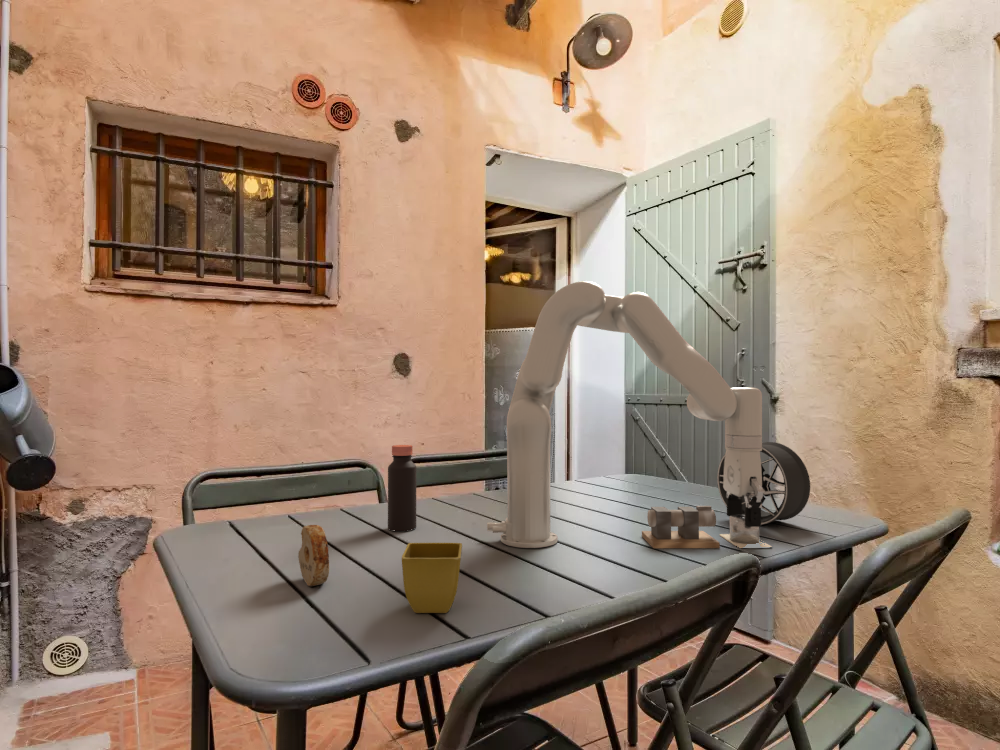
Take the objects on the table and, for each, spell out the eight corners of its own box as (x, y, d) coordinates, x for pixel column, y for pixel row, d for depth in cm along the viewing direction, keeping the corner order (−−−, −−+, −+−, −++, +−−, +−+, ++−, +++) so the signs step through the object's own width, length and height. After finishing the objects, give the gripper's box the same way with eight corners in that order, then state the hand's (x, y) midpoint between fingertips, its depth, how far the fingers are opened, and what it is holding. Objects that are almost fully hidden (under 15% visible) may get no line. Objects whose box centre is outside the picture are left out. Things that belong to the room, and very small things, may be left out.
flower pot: (462, 597, 95) (462, 541, 95) (460, 618, 86) (460, 557, 87) (408, 598, 95) (408, 542, 95) (400, 619, 86) (400, 558, 86)
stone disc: (333, 589, 99) (333, 530, 99) (310, 593, 97) (310, 533, 97) (318, 573, 108) (318, 518, 108) (297, 576, 106) (297, 520, 106)
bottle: (411, 532, 138) (411, 447, 138) (383, 531, 139) (383, 446, 139) (419, 525, 144) (419, 444, 145) (393, 525, 145) (393, 444, 146)
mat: (739, 548, 124) (739, 547, 124) (719, 535, 134) (719, 534, 135) (772, 548, 124) (772, 547, 124) (750, 535, 135) (750, 534, 135)
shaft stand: (653, 548, 124) (653, 511, 124) (641, 536, 134) (641, 502, 134) (721, 548, 124) (721, 511, 124) (705, 536, 134) (704, 501, 134)
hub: (736, 543, 126) (736, 520, 126) (725, 537, 132) (725, 514, 132) (764, 543, 126) (763, 520, 126) (752, 536, 132) (751, 514, 132)
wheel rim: (717, 516, 154) (716, 440, 155) (740, 512, 159) (739, 438, 159) (788, 532, 137) (786, 446, 138) (811, 527, 142) (810, 444, 142)
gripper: (712, 439, 138) (711, 512, 138) (742, 447, 121) (742, 530, 120) (743, 439, 138) (743, 512, 138) (779, 447, 121) (779, 530, 120)
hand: (743, 521), depth 129 cm, fingers open, 9 cm apart
